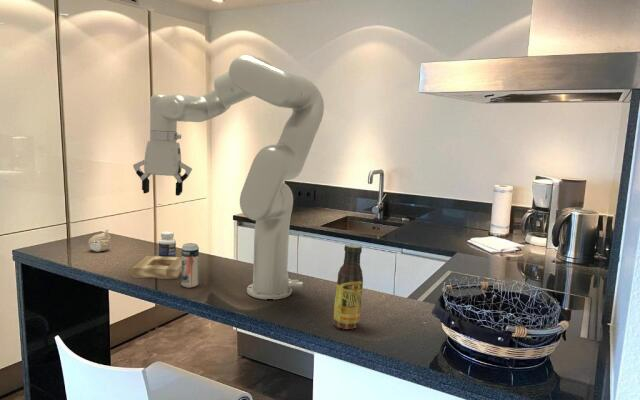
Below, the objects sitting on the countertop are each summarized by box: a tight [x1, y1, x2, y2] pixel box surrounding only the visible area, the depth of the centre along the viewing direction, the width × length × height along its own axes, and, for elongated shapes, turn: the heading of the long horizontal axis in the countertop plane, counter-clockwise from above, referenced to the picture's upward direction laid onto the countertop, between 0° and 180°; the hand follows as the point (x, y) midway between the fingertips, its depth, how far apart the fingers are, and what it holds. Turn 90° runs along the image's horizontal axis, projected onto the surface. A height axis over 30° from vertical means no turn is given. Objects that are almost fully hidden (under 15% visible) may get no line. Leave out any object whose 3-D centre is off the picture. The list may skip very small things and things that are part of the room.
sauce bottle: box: [333, 243, 364, 330], centre depth 112 cm, size 7×6×20 cm
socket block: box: [131, 255, 182, 280], centre depth 146 cm, size 13×13×3 cm
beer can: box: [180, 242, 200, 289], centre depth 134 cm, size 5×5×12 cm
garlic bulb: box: [87, 228, 111, 253], centre depth 165 cm, size 7×6×8 cm
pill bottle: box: [158, 231, 177, 257], centre depth 157 cm, size 5×5×10 cm
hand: (162, 193), depth 143 cm, fingers open, 9 cm apart
